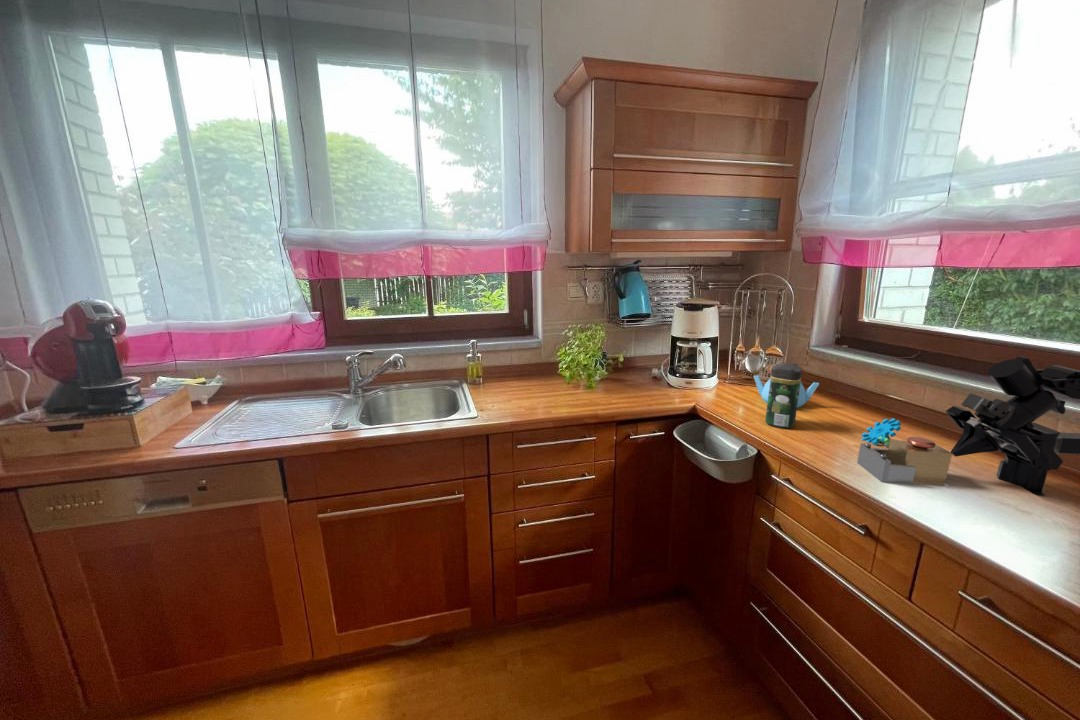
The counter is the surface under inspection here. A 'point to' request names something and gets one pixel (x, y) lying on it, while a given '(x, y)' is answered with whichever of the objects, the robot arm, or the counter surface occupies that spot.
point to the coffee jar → (783, 395)
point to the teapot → (803, 394)
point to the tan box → (921, 458)
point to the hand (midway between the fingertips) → (952, 454)
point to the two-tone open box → (888, 467)
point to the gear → (882, 432)
